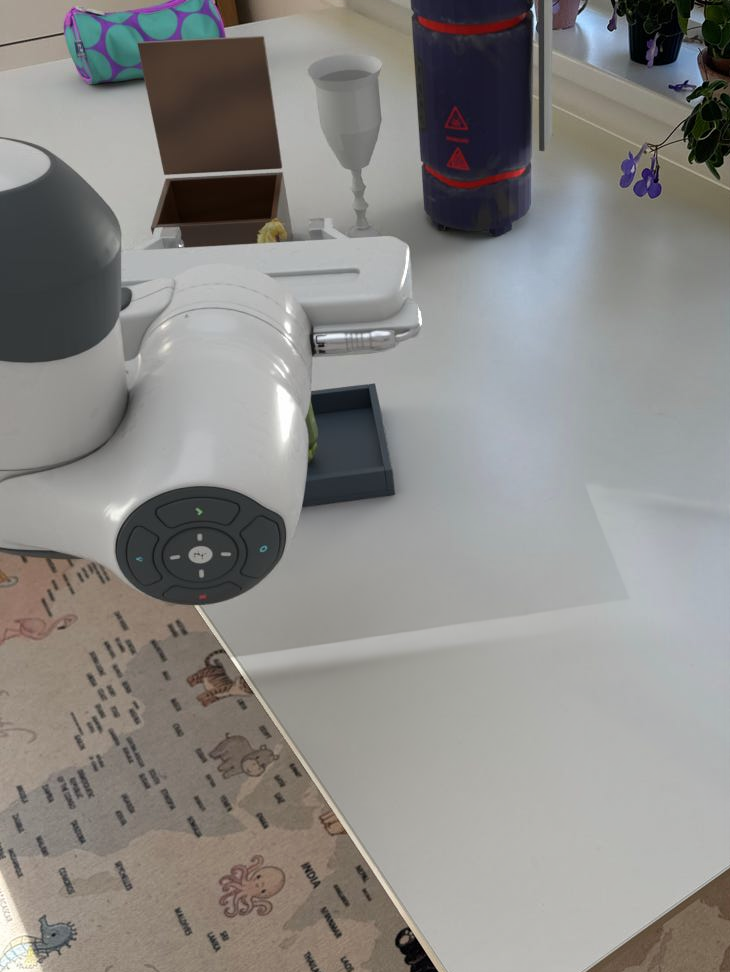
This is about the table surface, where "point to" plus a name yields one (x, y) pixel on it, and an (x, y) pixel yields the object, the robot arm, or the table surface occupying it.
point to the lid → (211, 104)
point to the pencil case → (133, 35)
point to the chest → (223, 208)
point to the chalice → (350, 119)
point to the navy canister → (479, 107)
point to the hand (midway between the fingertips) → (246, 233)
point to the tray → (348, 447)
